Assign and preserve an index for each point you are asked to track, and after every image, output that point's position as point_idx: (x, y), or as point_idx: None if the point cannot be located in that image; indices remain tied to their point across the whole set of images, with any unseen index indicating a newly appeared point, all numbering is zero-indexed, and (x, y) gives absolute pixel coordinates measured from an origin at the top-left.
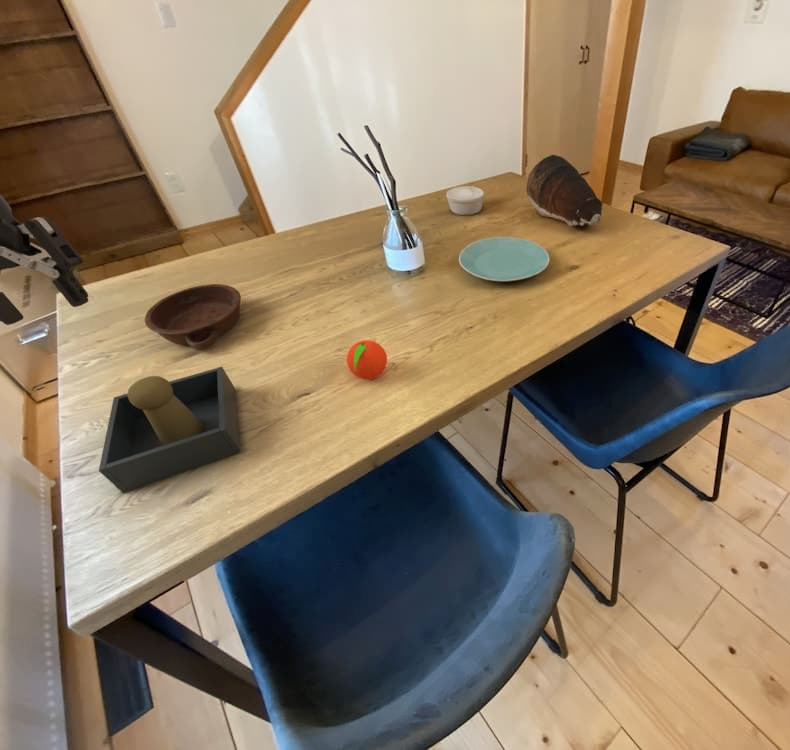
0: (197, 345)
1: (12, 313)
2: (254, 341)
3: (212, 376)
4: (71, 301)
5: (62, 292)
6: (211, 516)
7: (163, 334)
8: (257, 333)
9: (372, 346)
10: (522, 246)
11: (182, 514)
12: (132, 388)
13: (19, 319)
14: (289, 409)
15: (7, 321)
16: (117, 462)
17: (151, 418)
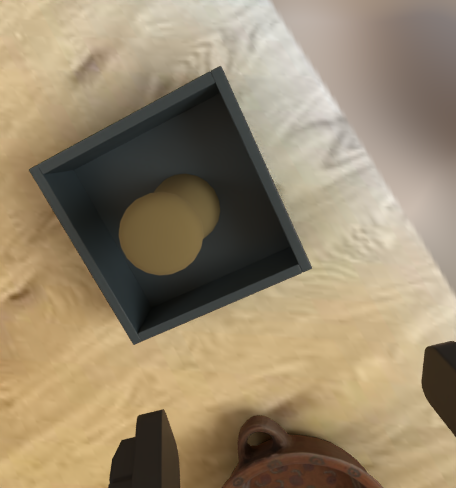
0: (257, 424)
1: (447, 397)
2: (178, 436)
3: (151, 323)
4: (148, 430)
5: (152, 476)
6: (43, 26)
7: (332, 455)
8: (183, 457)
9: None
10: None
11: (95, 31)
12: (176, 227)
13: (425, 376)
14: (28, 261)
15: (440, 349)
16: (194, 86)
17: (176, 192)
